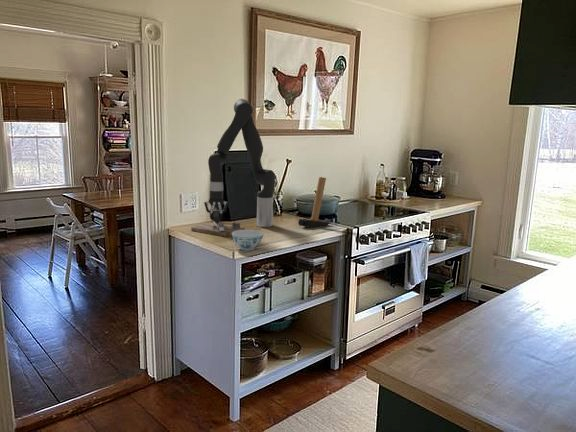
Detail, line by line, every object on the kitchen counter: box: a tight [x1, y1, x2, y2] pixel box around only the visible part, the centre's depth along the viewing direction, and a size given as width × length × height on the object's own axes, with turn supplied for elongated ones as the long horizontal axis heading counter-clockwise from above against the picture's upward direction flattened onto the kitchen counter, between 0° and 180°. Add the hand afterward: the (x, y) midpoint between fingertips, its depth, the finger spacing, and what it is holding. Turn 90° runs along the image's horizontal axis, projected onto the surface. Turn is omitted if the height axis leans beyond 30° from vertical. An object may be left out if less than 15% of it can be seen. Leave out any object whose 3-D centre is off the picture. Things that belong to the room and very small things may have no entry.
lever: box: [211, 209, 225, 231], centre depth 249 cm, size 19×4×8 cm, turn 20°
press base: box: [190, 221, 246, 238], centre depth 252 cm, size 17×24×5 cm
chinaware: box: [231, 229, 264, 252], centre depth 216 cm, size 15×15×8 cm
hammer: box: [298, 176, 332, 229], centre depth 268 cm, size 20×5×30 cm, turn 122°
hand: (215, 219), depth 257 cm, fingers closed on lever, 4 cm apart
